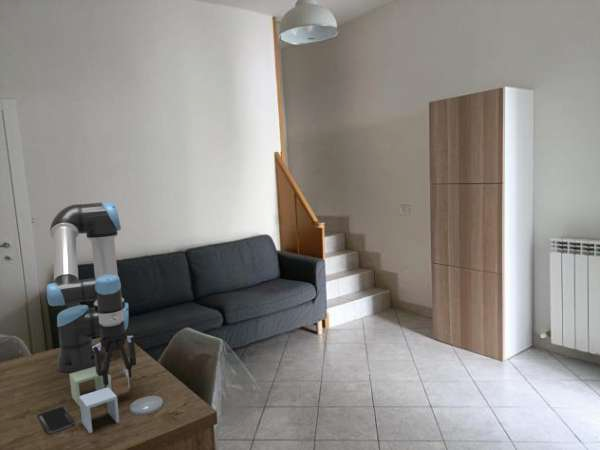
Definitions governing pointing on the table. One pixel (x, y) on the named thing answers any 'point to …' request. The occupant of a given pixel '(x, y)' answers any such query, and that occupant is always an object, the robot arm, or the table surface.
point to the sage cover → (81, 377)
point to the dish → (146, 405)
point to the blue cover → (97, 399)
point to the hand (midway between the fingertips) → (118, 389)
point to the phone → (56, 420)
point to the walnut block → (119, 384)
